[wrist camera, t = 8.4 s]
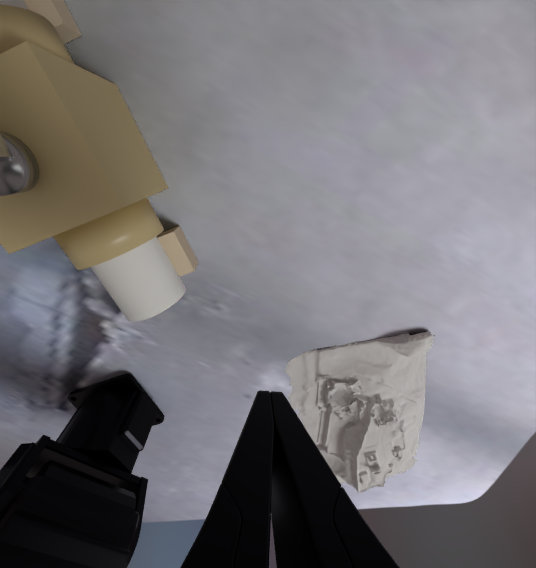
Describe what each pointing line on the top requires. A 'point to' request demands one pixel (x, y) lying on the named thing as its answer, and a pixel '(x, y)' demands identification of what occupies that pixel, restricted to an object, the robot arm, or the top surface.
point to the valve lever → (16, 166)
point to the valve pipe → (83, 166)
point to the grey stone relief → (363, 405)
